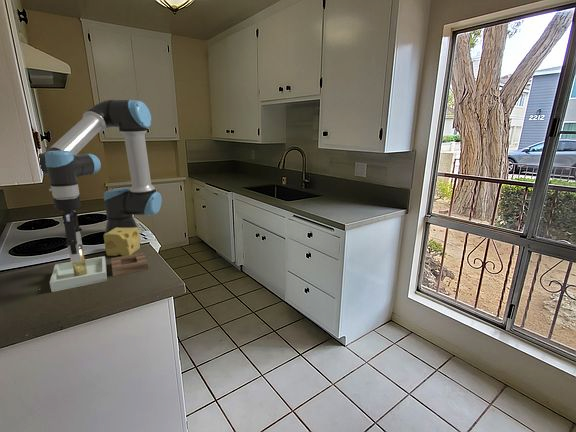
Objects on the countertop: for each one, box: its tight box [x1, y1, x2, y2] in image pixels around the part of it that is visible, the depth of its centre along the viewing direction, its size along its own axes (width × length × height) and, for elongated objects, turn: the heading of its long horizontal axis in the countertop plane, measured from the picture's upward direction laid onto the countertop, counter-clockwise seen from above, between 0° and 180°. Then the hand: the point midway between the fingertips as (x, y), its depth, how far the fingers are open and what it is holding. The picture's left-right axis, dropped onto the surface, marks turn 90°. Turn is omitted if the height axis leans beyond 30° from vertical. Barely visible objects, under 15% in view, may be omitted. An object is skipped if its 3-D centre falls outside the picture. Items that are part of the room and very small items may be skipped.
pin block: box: [110, 252, 149, 277], centre depth 120 cm, size 12×12×2 cm
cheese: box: [103, 226, 141, 257], centre depth 134 cm, size 10×11×10 cm
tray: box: [49, 255, 108, 293], centre depth 112 cm, size 16×16×4 cm
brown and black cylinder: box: [72, 244, 87, 277], centre depth 110 cm, size 4×4×11 cm
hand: (77, 255), depth 110 cm, fingers open, 13 cm apart
